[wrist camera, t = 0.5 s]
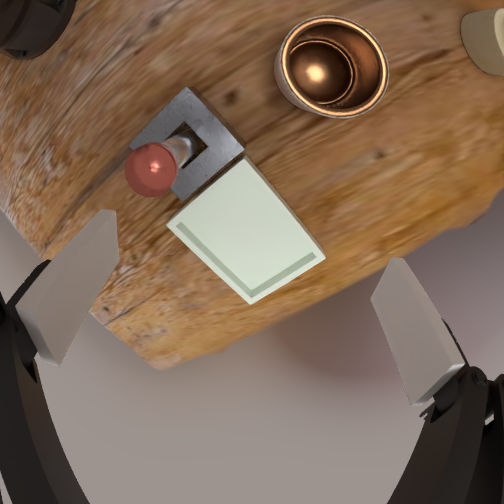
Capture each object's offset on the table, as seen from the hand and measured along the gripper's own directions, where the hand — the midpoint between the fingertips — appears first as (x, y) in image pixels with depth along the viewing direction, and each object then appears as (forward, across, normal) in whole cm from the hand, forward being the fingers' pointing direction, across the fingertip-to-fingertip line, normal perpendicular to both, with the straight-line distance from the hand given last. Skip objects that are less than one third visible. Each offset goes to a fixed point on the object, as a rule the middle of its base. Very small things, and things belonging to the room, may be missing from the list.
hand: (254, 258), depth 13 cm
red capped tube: (+26, -8, 0) cm, 27 cm away
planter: (+26, +6, +11) cm, 29 cm away
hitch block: (+26, -8, 0) cm, 27 cm away
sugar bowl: (+26, +32, +31) cm, 51 cm away
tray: (+25, +1, -12) cm, 28 cm away
